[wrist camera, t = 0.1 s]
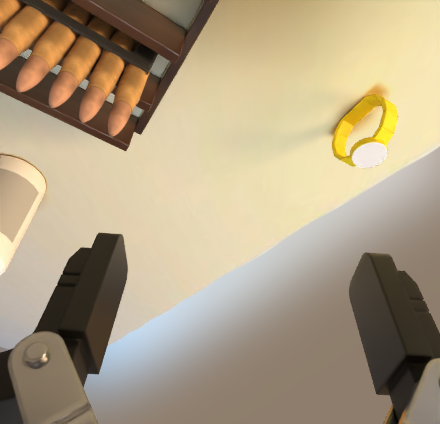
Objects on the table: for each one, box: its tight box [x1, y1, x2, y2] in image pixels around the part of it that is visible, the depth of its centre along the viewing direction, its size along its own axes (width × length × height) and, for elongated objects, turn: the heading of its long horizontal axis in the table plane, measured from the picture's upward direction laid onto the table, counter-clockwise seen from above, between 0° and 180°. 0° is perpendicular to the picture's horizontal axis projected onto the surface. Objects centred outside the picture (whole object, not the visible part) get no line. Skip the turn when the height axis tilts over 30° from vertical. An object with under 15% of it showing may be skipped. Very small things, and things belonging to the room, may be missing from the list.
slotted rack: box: [0, 0, 219, 151], centre depth 27 cm, size 15×15×4 cm
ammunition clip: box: [0, 0, 158, 137], centre depth 24 cm, size 11×2×12 cm, turn 58°
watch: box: [332, 94, 398, 168], centre depth 31 cm, size 6×3×6 cm, turn 150°
